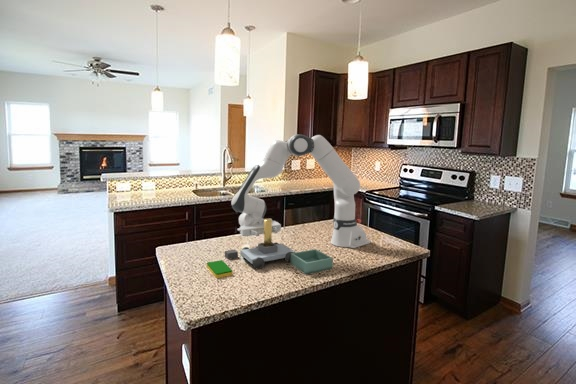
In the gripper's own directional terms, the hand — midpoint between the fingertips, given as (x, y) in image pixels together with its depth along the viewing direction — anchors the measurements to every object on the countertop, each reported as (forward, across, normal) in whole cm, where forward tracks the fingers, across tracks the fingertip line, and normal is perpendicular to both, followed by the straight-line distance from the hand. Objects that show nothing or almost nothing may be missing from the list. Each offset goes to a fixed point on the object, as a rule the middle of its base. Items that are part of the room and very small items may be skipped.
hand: (267, 233), depth 152 cm
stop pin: (+1, 0, +8) cm, 8 cm away
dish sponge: (+3, -24, +14) cm, 28 cm away
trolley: (+1, 0, +13) cm, 13 cm away
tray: (+17, +14, +13) cm, 25 cm away
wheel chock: (-11, -14, +13) cm, 22 cm away
